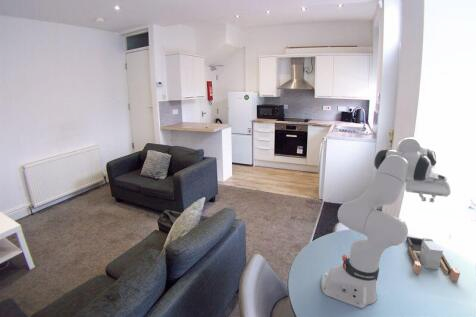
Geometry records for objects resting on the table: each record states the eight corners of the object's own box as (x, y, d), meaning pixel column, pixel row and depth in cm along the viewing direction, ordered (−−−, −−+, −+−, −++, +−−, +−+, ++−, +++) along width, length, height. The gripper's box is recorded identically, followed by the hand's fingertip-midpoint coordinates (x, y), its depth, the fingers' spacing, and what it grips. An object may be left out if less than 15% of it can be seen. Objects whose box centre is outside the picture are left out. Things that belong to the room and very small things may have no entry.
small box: (438, 270, 132) (443, 251, 129) (425, 268, 133) (430, 249, 130) (430, 259, 139) (435, 241, 136) (418, 258, 140) (422, 240, 137)
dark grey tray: (409, 250, 146) (410, 245, 146) (405, 240, 155) (406, 236, 154) (436, 254, 143) (437, 249, 142) (430, 245, 151) (431, 240, 150)
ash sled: (417, 268, 132) (421, 252, 130) (410, 251, 145) (413, 236, 142) (447, 274, 129) (451, 257, 126) (437, 256, 141) (441, 240, 139)
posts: (414, 273, 129) (416, 264, 128) (412, 269, 132) (414, 260, 130) (457, 282, 124) (460, 273, 122) (454, 278, 127) (457, 268, 125)
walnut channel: (414, 268, 133) (415, 262, 132) (407, 251, 146) (408, 246, 145) (450, 275, 128) (452, 270, 127) (440, 257, 141) (441, 252, 140)
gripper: (406, 173, 152) (407, 196, 146) (450, 177, 145) (453, 202, 139) (403, 177, 157) (403, 200, 151) (445, 182, 151) (447, 206, 145)
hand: (427, 201), depth 145 cm, fingers open, 2 cm apart
